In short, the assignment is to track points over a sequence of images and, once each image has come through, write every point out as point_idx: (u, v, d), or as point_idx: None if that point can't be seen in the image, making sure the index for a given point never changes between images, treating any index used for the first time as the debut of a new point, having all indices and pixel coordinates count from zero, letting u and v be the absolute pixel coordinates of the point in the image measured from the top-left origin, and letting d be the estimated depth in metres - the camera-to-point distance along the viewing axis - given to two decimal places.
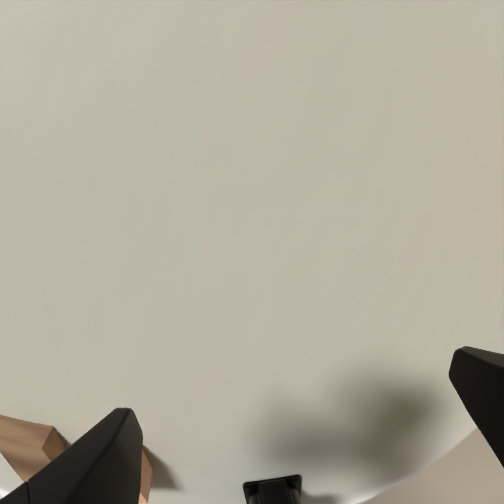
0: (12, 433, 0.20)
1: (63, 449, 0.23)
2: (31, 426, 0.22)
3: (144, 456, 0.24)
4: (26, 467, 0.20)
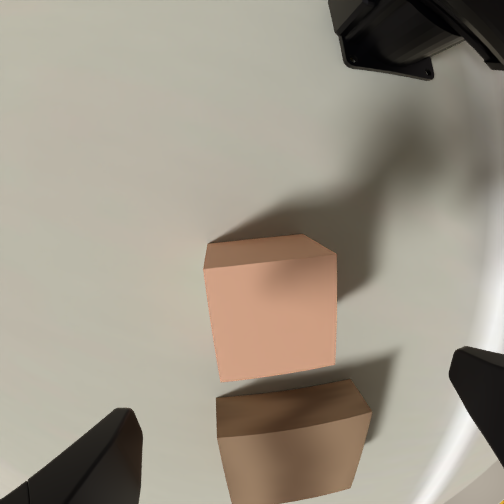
0: None
1: (267, 399, 0.17)
2: None
3: (249, 240, 0.15)
4: (301, 477, 0.16)
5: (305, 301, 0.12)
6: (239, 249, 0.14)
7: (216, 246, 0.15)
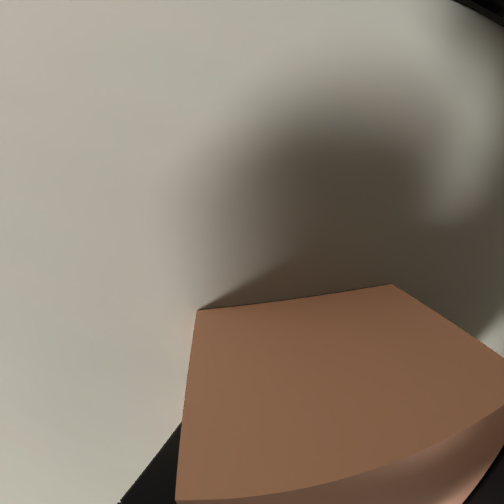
0: None
1: None
2: None
3: (291, 308, 0.07)
4: None
5: (445, 487, 0.03)
6: (278, 355, 0.05)
7: (216, 328, 0.06)
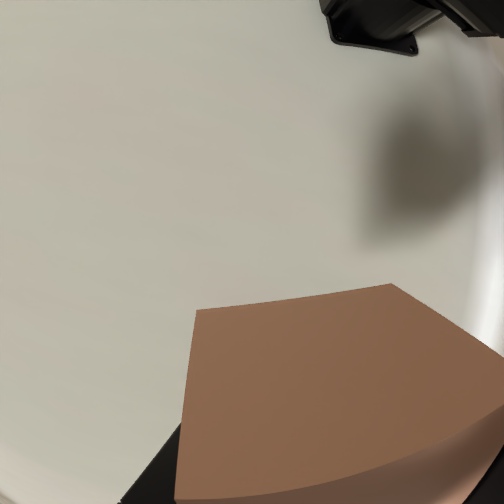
0: None
1: None
2: None
3: (291, 307, 0.07)
4: None
5: (445, 487, 0.03)
6: (278, 355, 0.05)
7: (216, 328, 0.06)
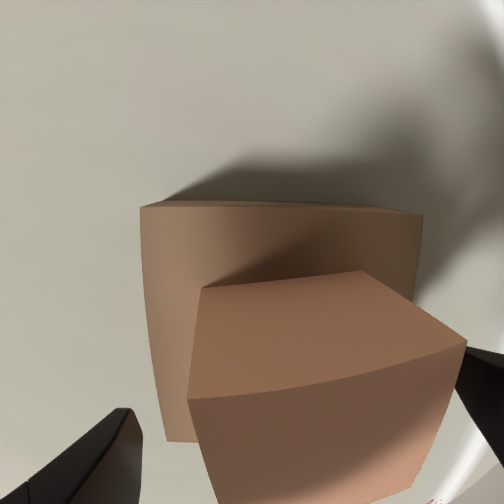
0: None
1: (244, 201, 0.11)
2: None
3: (276, 286, 0.09)
4: None
5: (398, 428, 0.05)
6: (263, 315, 0.07)
7: (216, 299, 0.08)
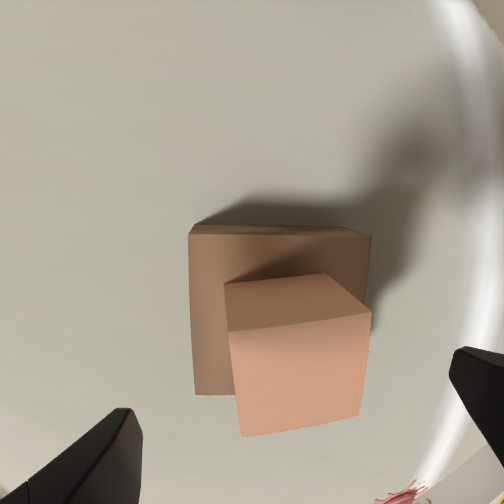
0: None
1: (251, 226, 0.17)
2: None
3: (270, 282, 0.14)
4: None
5: (336, 360, 0.10)
6: (262, 298, 0.12)
7: (234, 290, 0.13)
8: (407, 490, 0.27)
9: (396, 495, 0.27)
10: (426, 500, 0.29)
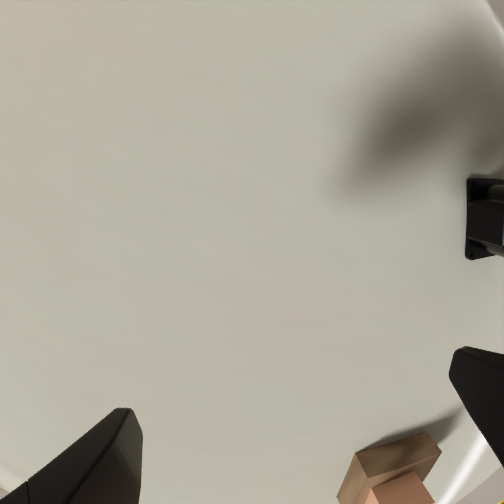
0: (351, 495, 0.22)
1: (384, 449, 0.23)
2: (350, 473, 0.24)
3: (392, 484, 0.20)
4: None
5: None
6: (393, 498, 0.19)
7: (378, 493, 0.20)
8: None
9: None
10: None
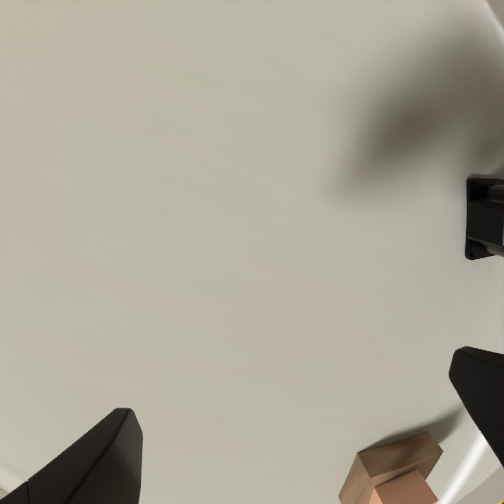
0: (353, 495, 0.22)
1: (386, 449, 0.23)
2: (352, 473, 0.24)
3: (395, 482, 0.20)
4: None
5: None
6: (396, 497, 0.19)
7: (382, 492, 0.20)
8: None
9: None
10: None
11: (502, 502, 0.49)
